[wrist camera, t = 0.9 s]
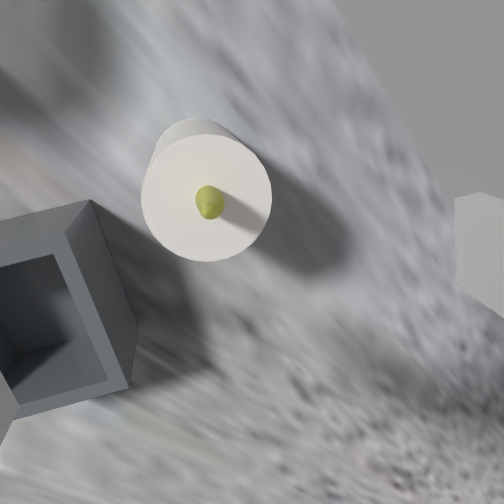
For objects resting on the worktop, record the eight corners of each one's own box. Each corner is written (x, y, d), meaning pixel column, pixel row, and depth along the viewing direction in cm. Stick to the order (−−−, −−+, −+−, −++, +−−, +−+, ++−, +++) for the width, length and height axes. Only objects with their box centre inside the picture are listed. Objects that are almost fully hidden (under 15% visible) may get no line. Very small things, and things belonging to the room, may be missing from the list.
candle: (186, 224, 31) (193, 333, 18) (134, 148, 29) (94, 205, 15) (258, 181, 31) (324, 257, 17) (212, 99, 28) (246, 112, 15)
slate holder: (-55, 234, 29) (-126, 279, 22) (90, 199, 29) (64, 232, 23) (14, 361, 33) (-28, 431, 26) (138, 328, 34) (129, 388, 27)
